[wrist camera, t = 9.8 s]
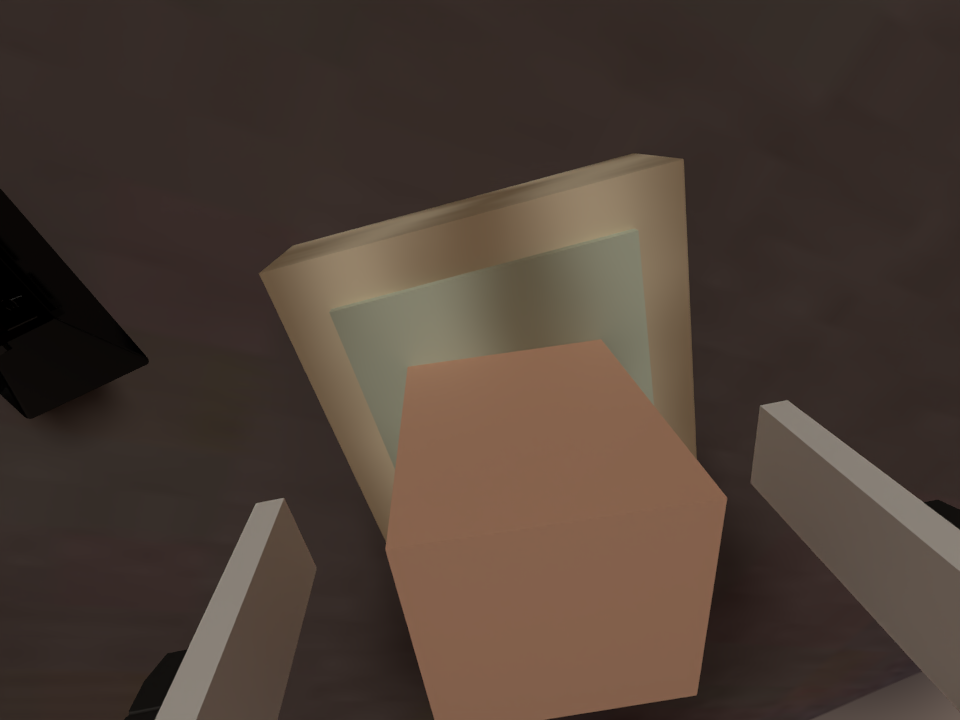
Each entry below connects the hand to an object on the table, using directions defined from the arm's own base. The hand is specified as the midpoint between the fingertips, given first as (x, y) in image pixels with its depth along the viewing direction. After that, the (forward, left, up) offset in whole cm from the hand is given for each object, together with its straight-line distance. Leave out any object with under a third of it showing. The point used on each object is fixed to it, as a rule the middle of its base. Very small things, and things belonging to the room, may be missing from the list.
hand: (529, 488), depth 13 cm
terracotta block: (0, 0, -3) cm, 3 cm away
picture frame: (0, 0, -7) cm, 7 cm away
